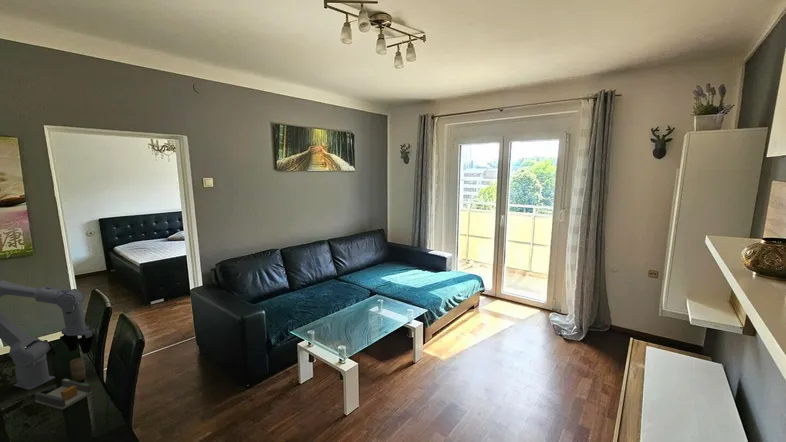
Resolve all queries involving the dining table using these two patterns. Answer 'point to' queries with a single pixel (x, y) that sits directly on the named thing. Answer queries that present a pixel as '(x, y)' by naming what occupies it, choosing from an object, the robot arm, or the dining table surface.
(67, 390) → the block
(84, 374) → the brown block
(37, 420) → the dining table surface
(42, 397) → the grey tray
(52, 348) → the dining table surface
